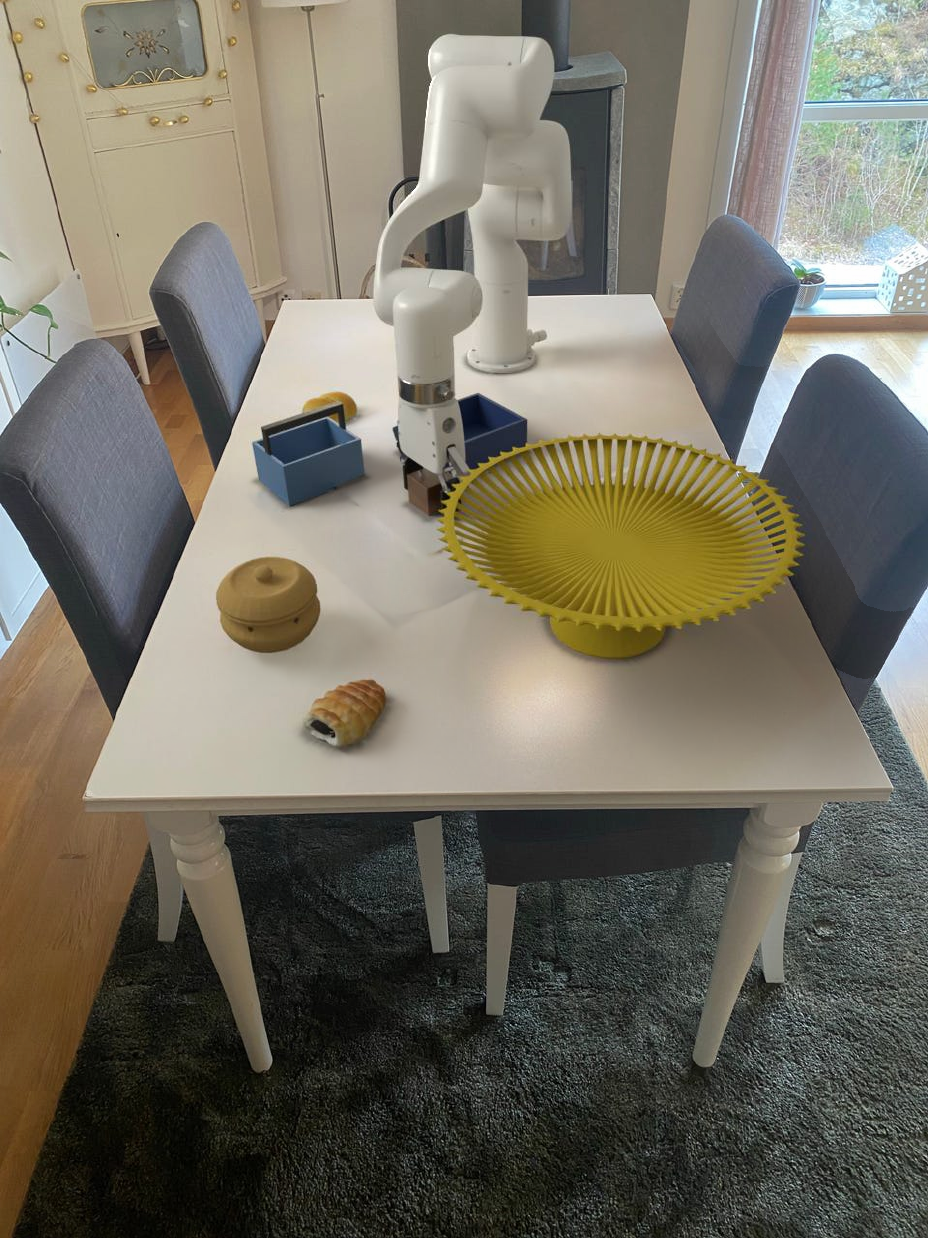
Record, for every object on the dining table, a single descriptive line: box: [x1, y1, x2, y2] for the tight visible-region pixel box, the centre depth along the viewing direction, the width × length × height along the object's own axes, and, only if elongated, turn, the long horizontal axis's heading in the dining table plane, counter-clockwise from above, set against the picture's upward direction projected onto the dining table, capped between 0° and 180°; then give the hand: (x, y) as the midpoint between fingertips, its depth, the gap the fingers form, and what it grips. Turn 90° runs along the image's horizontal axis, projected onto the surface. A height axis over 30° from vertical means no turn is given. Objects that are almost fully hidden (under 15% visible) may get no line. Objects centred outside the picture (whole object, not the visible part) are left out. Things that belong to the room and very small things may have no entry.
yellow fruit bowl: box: [436, 432, 806, 660], centre depth 110 cm, size 40×40×15 cm
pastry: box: [302, 678, 387, 748], centre depth 101 cm, size 9×7×4 cm
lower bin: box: [396, 392, 528, 474], centre depth 147 cm, size 16×12×6 cm
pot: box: [215, 556, 321, 654], centre depth 111 cm, size 12×12×10 cm
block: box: [407, 467, 453, 517], centre depth 135 cm, size 5×5×5 cm
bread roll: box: [301, 391, 358, 424], centre depth 158 cm, size 8×9×4 cm
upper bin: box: [251, 401, 366, 507], centre depth 140 cm, size 13×10×11 cm
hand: (432, 498), depth 135 cm, fingers open, 8 cm apart
